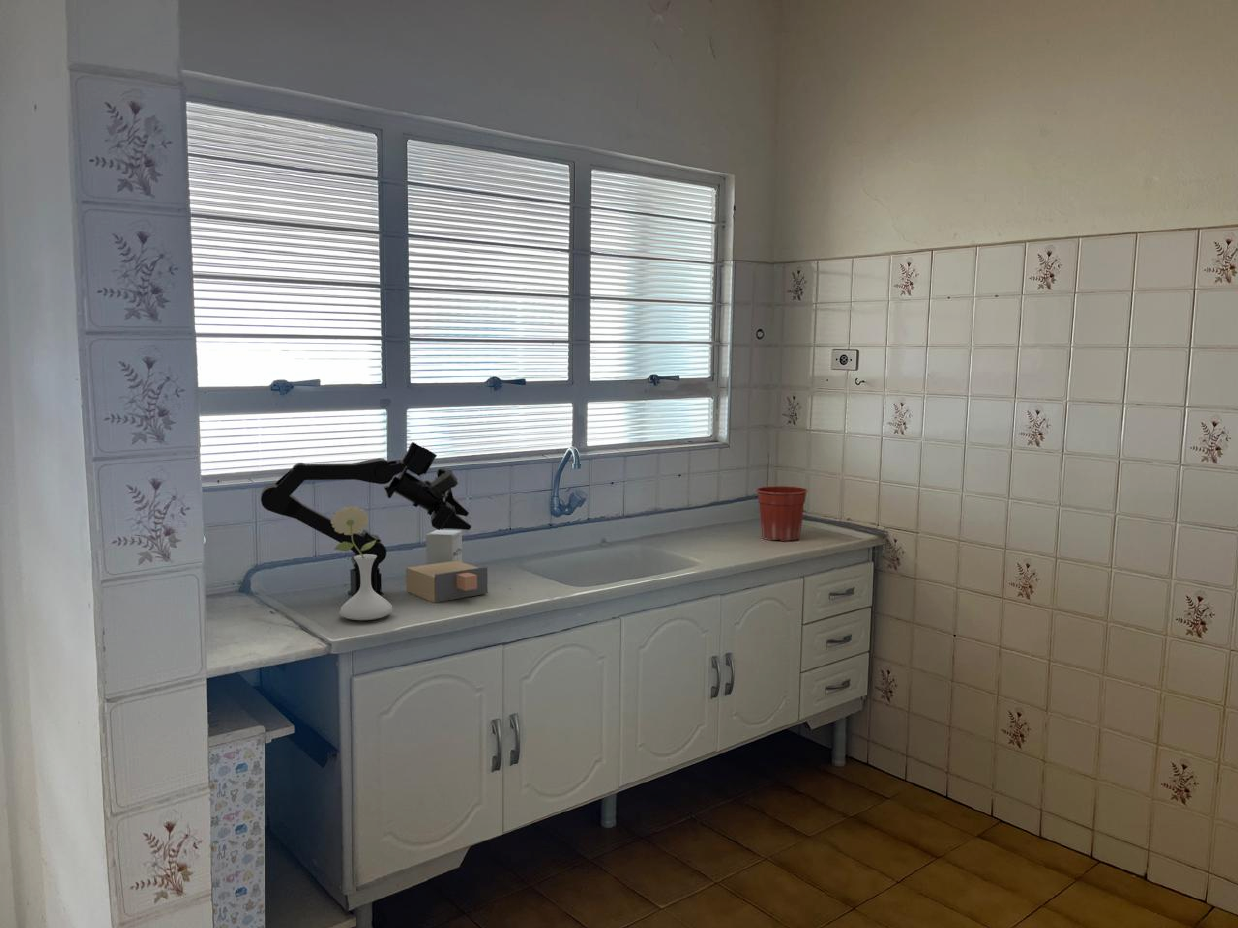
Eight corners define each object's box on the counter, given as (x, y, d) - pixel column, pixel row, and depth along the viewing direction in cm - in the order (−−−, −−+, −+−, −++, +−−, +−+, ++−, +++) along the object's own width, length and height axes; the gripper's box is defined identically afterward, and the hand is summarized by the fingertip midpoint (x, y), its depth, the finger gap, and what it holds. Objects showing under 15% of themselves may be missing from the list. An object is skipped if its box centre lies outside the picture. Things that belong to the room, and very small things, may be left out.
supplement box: (452, 583, 247) (452, 534, 246) (425, 582, 248) (424, 533, 247) (463, 577, 254) (462, 530, 253) (436, 575, 256) (436, 528, 254)
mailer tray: (445, 604, 223) (444, 577, 223) (406, 590, 238) (406, 564, 237) (496, 595, 232) (496, 569, 232) (456, 582, 247) (456, 557, 246)
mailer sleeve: (434, 602, 227) (434, 577, 226) (406, 591, 238) (406, 567, 237) (485, 593, 236) (485, 569, 235) (456, 583, 247) (456, 560, 246)
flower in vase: (397, 610, 219) (395, 502, 217) (387, 624, 208) (384, 509, 205) (339, 611, 219) (336, 502, 216) (326, 624, 208) (323, 510, 205)
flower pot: (751, 541, 308) (752, 491, 306) (759, 532, 323) (760, 485, 322) (803, 544, 303) (804, 493, 301) (808, 535, 318) (810, 487, 317)
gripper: (434, 476, 227) (490, 508, 233) (432, 452, 244) (483, 483, 250) (409, 514, 229) (464, 545, 234) (408, 488, 246) (460, 517, 251)
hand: (469, 521), depth 242 cm, fingers open, 9 cm apart
